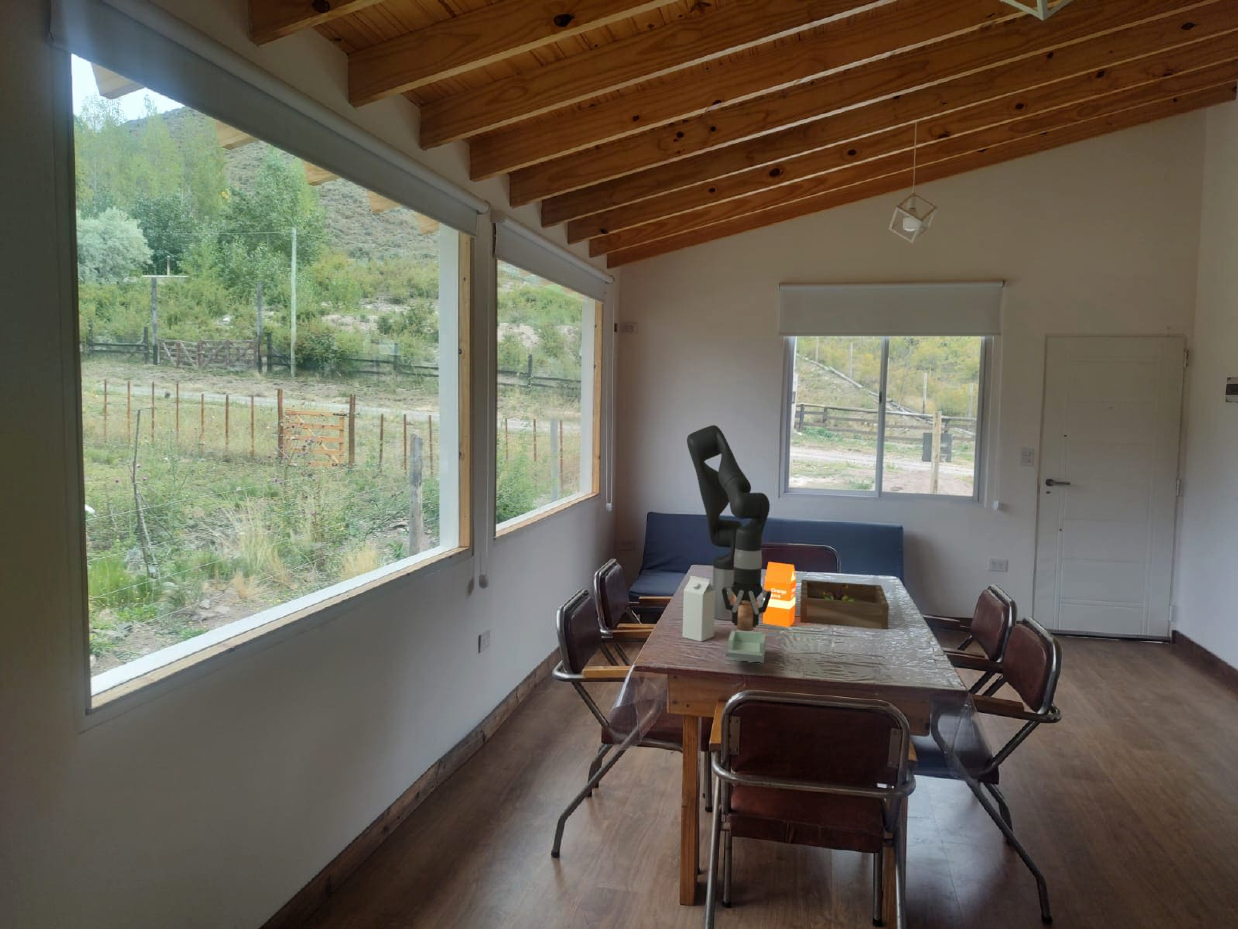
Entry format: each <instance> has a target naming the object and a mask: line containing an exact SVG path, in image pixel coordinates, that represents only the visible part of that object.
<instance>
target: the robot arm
mask: <svg viewBox="0 0 1238 929" xmlns="http://www.w3.org/2000/svg"><path fill="white" fill-rule="evenodd" d="M686 444H687V448H688V451H689V454H690V458H691V461H692V463H693V466H694V469H695V472H696V477H697V481H698V482H697V483H698V487H699V492H700V495H701V501H702V503H703V506H704V509H705V510H704V511H705V515H706V522H707V528H708V529H707V530H708V534H709V540H710V543H711V545H713V546H716V547H718V548H719V547H720V548H730V550H729V552H728V553H726V554H723V555H719V556H716V557H714V558H713V561H712V562H713V563H712V564H713V565H712V586H713V588H714V589H715V615H714V619H715V620H723V621H731V622H732V624H733V625H734V626H735V627H737V609H738V606H739V603H740V601H741V600H746V601H751V603H752V606H753V609H754V618H753V627H754V628H757V626H758V625H759V624H760V623H759V622H760V614H763V613H765V612H766V609H767V606H768V603H769V600H770V597H771V593H772V592H771V591H770V590H768V591H767V590H764V588H763V586H762V566H763V557H762V541H763V538H762V537H763V533H764V529H765V525H766V522H767V521H768V520H767V519H768V517H769V513H770V510H771V504H770V500H769V498H768V496H767V495H766V494H765V493H763V492H752V491H751V490H752V485H751V483H750V480H749V479H748V478H747V476H746V475H745V473H744V472H743V471H742V469H741V468H740V466H739V464H738V462H737V460H736V458H735V455H734V454H733V450H732V448H731V447H730V445H729V443H728V441H727V439H726V437H725V435H724V433H723V431H722V429H720V428H719V426H717V425H715V424H712V425H709V426H706V427H703V428H701V429H698V430H696V431H694V432H692V433H690V434H688V436H687V438H686ZM719 455H721V457H720V463H719V466H718V467H719V468H718V470H716V469H715V468H713V467H711V466H709V465H708V464H707V463H706V462H705V461H707V460H710V459H711V458H715V457H717V456H719ZM728 505H729V510H730V512H731V514H732V515H733V516H734V517H736V518H737V519H740V520H744V519H746V520H747V519H749V520H750V521H749V523H747V525H746V524H745V525H743V523H742V521H740V520H731V519H721V518H720V516H721V514H722V513H723V512H724V511H725V509H726V508H727V507H728ZM761 594H762V598H763V603H762V606H760V607H759V604H758V598H759V596H761ZM764 598H765V600H764Z"/></svg>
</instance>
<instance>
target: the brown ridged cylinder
mask: <svg viewBox="0 0 1238 929" xmlns="http://www.w3.org/2000/svg"><path fill="white" fill-rule="evenodd" d="M753 618H754V609H753V606H752V603H751V601H746V600H741V601H740V603H739V606H738V609H737V626H736V630H740V631H751V632H753V631H754V628H755V627H753Z"/></svg>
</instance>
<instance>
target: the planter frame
mask: <svg viewBox="0 0 1238 929" xmlns="http://www.w3.org/2000/svg"><path fill="white" fill-rule="evenodd" d="M842 584H846V585H848V588H847V589H845V588H844V586H842V589H841V594H846V595H847V596H848V599H847V600H846V601H842V600H829V599H831V596H832V597H833V594H832V592H830V591H828V592H827V594H826V595H825V596H824V595H823V592H824V591H827V590H832V591H834V592H835V593H836V594H838V590H839V588H840V586H841V585H842ZM825 597H827V598H829V599H825ZM843 597H844V596H842V598H843ZM852 599H854V601H848V600H852ZM799 605H800V608H799V610H800V616H799V623H806V624H807V623H808V624H818V625H829V626H830V625H831V626H841V627H853V628H863V629H875V630H877V629H878V630H886V631H887V630H889V629H888V628H889V615H890V614H889V611H890V605H889V602H888V600H887V597H886V594H885V592H884V588H883V587H882V585H881V584H869V583H868V584H866V583H855V582H854V583H852V582H839V581H826V580H811V579H801V581H800V604H799Z"/></svg>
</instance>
